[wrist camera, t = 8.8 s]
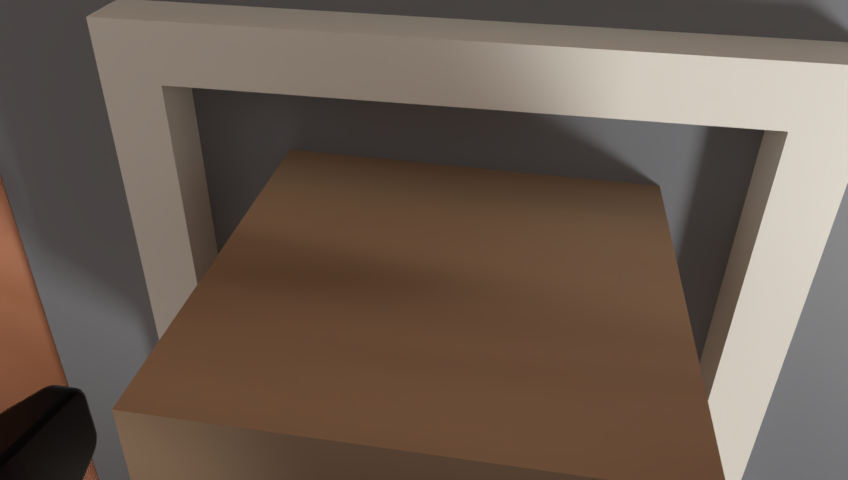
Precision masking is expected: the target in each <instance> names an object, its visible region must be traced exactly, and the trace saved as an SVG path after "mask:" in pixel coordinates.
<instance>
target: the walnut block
mask: <svg viewBox="0 0 848 480" xmlns="http://www.w3.org/2000/svg"><path fill="white" fill-rule="evenodd" d="M112 412H113V416H114V419H115V423H116V427H117V431H118V434H119V438H120V442H121V446H122V449H123V453H124V457H125V461H126V464H127V468H128V472H129V476H130V479H131V480H725V476H724V472H723V467H722V463H721V458H720V454H719V449H718V445H717V440H716V436H715V431H714V427H713V422H712V418H711V413H710V409H709V405H708V400H707V396H706V391H705V387H704V382H703V378H702V373H701V369H700V364H699V360H698V355H697V351H696V346H695V342H694V337H693V333H692V328H691V324H690V319H689V315H688V310H687V306H686V301H685V297H684V292H683V288H682V283H681V279H680V274H679V270H678V265H677V261H676V256H675V252H674V248H673V243H672V239H671V234H670V230H669V225H668V221H667V216H666V212H665V207H664V203H663V198H662V194H661V189H660V186H655V185H645V184H635V183H625V182H615V181H605V180H594V179H584V178H574V177H564V176H554V175H544V174H534V173H524V172H513V171H503V170H493V169H483V168H473V167H463V166H453V165H442V164H432V163H422V162H412V161H402V160H392V159H382V158H372V157H361V156H351V155H341V154H331V153H321V152H311V151H301V150H289V152H288V153H287V155H286V156H285V157H284V159H283V160H282V162H281V163H280V165H279V166H278V168H277V169H276V171H275V172H274V174H273V175H272V176H271V178H270V179H269V181H268V182H267V184H266V185H265V187H264V188H263V190H262V191H261V192H260V194H259V195H258V197H257V198H256V200H255V201H254V203H253V204H252V206H251V207H250V209H249V210H248V211H247V213H246V214H245V216H244V217H243V219H242V220H241V222H240V223H239V225H238V226H237V228H236V229H235V230H234V232H233V233H232V235H231V236H230V238H229V239H228V241H227V242H226V244H225V245H224V247H223V248H222V249H221V251H220V252H219V254H218V255H217V257H216V258H215V260H214V261H213V263H212V264H211V265H210V267H209V268H208V270H207V271H206V273H205V274H204V276H203V277H202V279H201V280H200V282H199V283H198V284H197V286H196V287H195V289H194V290H193V292H192V293H191V295H190V296H189V298H188V299H187V301H186V302H185V303H184V305H183V306H182V308H181V309H180V311H179V312H178V314H177V315H176V317H175V318H174V320H173V321H172V322H171V324H170V325H169V327H168V328H167V330H166V331H165V333H164V334H163V336H162V337H161V338H160V340H159V341H158V343H157V344H156V346H155V347H154V349H153V350H152V352H151V353H150V355H149V356H148V357H147V359H146V360H145V362H144V363H143V365H142V366H141V368H140V369H139V371H138V372H137V374H136V375H135V376H134V378H133V379H132V381H131V382H130V384H129V385H128V387H127V388H126V390H125V391H124V393H123V394H122V395H121V397H120V398H119V400H118V401H117V403H116V404H115V406H114V407H113V409H112Z"/></svg>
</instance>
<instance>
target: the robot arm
mask: <svg viewBox="0 0 848 480" xmlns="http://www.w3.org/2000/svg"><path fill="white" fill-rule="evenodd" d="M96 445H97V431H96V427H95V424H94V421H93V418H92V414H91V411H90V408H89V405H88V401H87V398H86V395H85V393H84V392H83V391H82V390H81V389H78V388H74V387H66V386H58V385H51V386H47V387H45V388H43V389H41V390H39V391H38V392H36V393H34V394H32V395H31V396H29V397H27V398H26V399H24V400H22V401H21V402H19V403H17V404H15V405H14V406H12V407H10V408H9V409H7V410H5V411H4V412H2V413H0V480H83V478H84V476H85V473H86V471H87V468H88V466H89V464H90V461H91V459H92V457H93V454H94V452H95V449H96Z"/></svg>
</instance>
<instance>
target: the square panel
mask: <svg viewBox="0 0 848 480" xmlns="http://www.w3.org/2000/svg"><path fill="white" fill-rule="evenodd" d="M289 150H301V151H311V152H321V153H331V154H341V155H351V156H361V157H372V158H382V159H392V160H402V161H412V162H422V163H432V164H442V165H453V166H463V167H473V168H483V169H493V170H503V171H513V172H524V173H534V174H544V175H554V176H564V177H574V178H584V179H594V180H605V181H615V182H625V183H635V184H645V185H655V186H660V189H661V194H662V198H663V203H664V207H665V212H666V216H667V221H668V225H669V230H670V234H671V239H672V243H673V248H674V252H675V256H676V261H677V265H678V270H679V274H680V279H681V283H682V288H683V292H684V297H685V301H686V306H687V310H688V315H689V319H690V324H691V328H692V333H693V337H694V342H695V346H696V351H697V355H698V360H699V364H700V369H701V373H702V378H703V382H704V387H705V391H706V396H707V400H708V405H709V409H710V413H711V418H712V422H713V427H714V431H715V436H716V440H717V445H718V449H719V454H720V458H721V463H722V467H723V472H724V476H725V480H848V0H0V175H1V178H2V181H3V185H4V188H5V191H6V194H7V197H8V200H9V203H10V206H11V209H12V212H13V215H14V219H15V222H16V225H17V228H18V231H19V234H20V237H21V240H22V243H23V246H24V250H25V253H26V256H27V259H28V262H29V265H30V268H31V271H32V274H33V277H34V280H35V284H36V287H37V290H38V293H39V296H40V299H41V302H42V305H43V308H44V311H45V314H46V318H47V321H48V324H49V327H50V330H51V333H52V336H53V339H54V342H55V345H56V348H57V352H58V355H59V358H60V361H61V364H62V367H63V370H64V373H65V376H66V379H67V383H68V386H69V387H74V388H78V389H81V390H82V391H83V392H84V393H85V395H86V398H87V401H88V405H89V408H90V411H91V414H92V418H93V421H94V424H95V427H96V431H97V445H96V449H95V452H94V454H93V457H92V460H93V463H94V466H95V469H96V472H97V475H98V478H99V480H131V479H130V476H129V472H128V468H127V464H126V461H125V457H124V453H123V449H122V446H121V442H120V438H119V434H118V431H117V427H116V423H115V419H114V416H113V412H112V409H113V407H114V406H115V404H116V403H117V401H118V400H119V398H120V397H121V395H122V394H123V393H124V391H125V390H126V388H127V387H128V385H129V384H130V382H131V381H132V379H133V378H134V376H135V375H136V374H137V372H138V371H139V369H140V368H141V366H142V365H143V363H144V362H145V360H146V359H147V357H148V356H149V355H150V353H151V352H152V350H153V349H154V347H155V346H156V344H157V343H158V341H159V340H160V338H161V337H162V336H163V334H164V333H165V331H166V330H167V328H168V327H169V325H170V324H171V322H172V321H173V320H174V318H175V317H176V315H177V314H178V312H179V311H180V309H181V308H182V306H183V305H184V303H185V302H186V301H187V299H188V298H189V296H190V295H191V293H192V292H193V290H194V289H195V287H196V286H197V284H198V283H199V282H200V280H201V279H202V277H203V276H204V274H205V273H206V271H207V270H208V268H209V267H210V265H211V264H212V263H213V261H214V260H215V258H216V257H217V255H218V254H219V252H220V251H221V249H222V248H223V247H224V245H225V244H226V242H227V241H228V239H229V238H230V236H231V235H232V233H233V232H234V230H235V229H236V228H237V226H238V225H239V223H240V222H241V220H242V219H243V217H244V216H245V214H246V213H247V211H248V210H249V209H250V207H251V206H252V204H253V203H254V201H255V200H256V198H257V197H258V195H259V194H260V192H261V191H262V190H263V188H264V187H265V185H266V184H267V182H268V181H269V179H270V178H271V176H272V175H273V174H274V172H275V171H276V169H277V168H278V166H279V165H280V163H281V162H282V160H283V159H284V157H285V156H286V155H287V153H288V152H289Z"/></svg>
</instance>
